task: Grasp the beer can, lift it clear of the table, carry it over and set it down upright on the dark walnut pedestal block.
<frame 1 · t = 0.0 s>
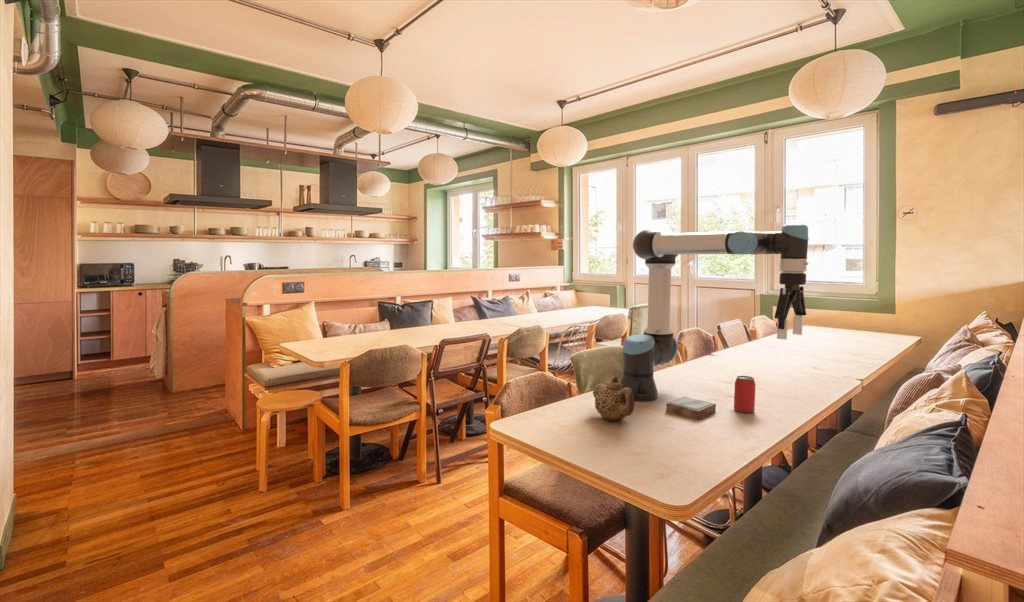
hand: (789, 336, 163), 28 cm above the table, fingers open, 13 cm apart
beer can: (743, 411, 175), on the table
teapot: (613, 420, 165), on the table
pedestal: (690, 411, 174), on the table
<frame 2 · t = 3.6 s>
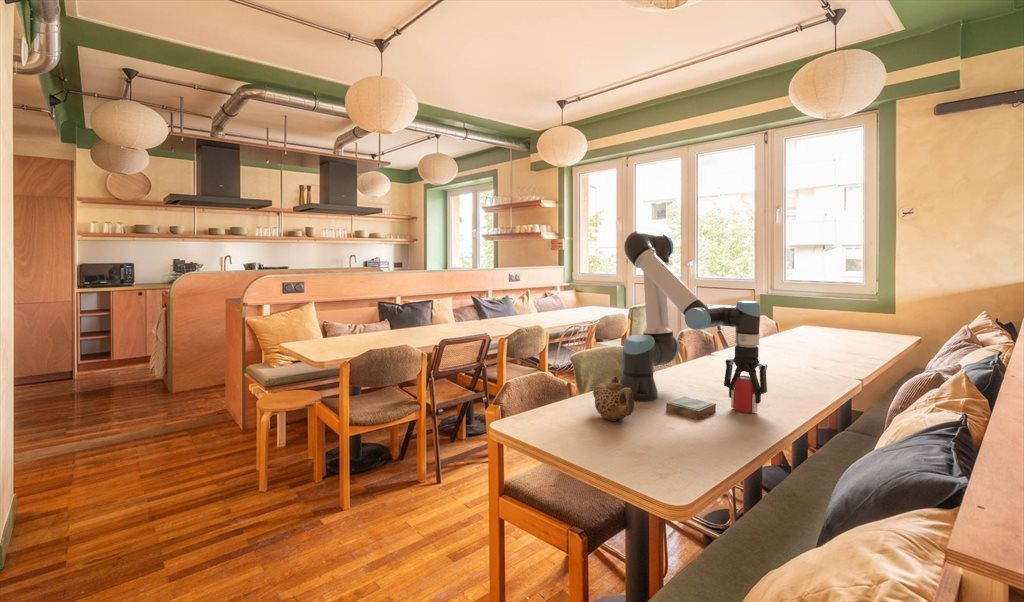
hand: (743, 409, 174), 1 cm above the table, fingers closed on beer can, 7 cm apart
beer can: (743, 411, 175), on the table, touching gripper
everything else where it was.
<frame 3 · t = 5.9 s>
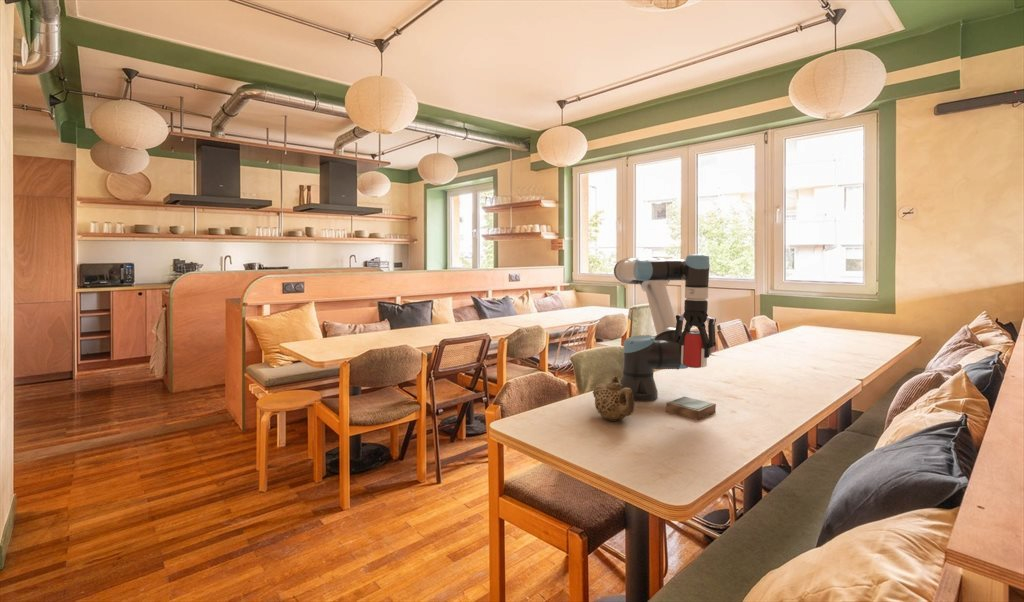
hand: (693, 364, 172), 17 cm above the table, fingers closed on beer can, 7 cm apart
beer can: (693, 366, 172), point 16 cm above the table, touching gripper
everything else where it was.
when the fingers open (5 cm above the table, at t = 8.5 s): beer can drops 1 cm, resting on pedestal.
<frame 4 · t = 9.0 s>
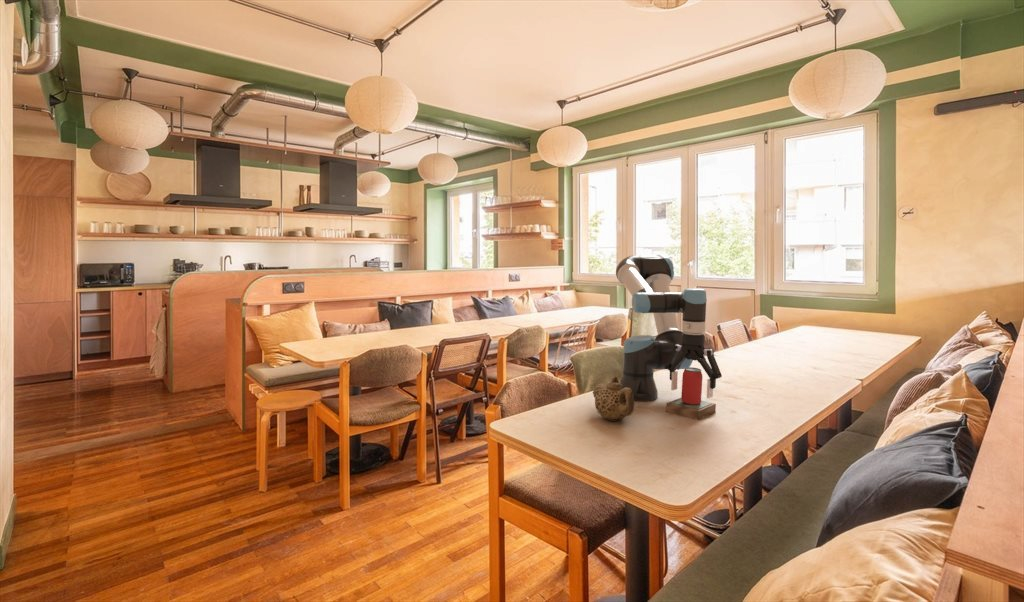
hand: (691, 393, 173), 7 cm above the table, fingers open, 13 cm apart
beer can: (690, 403, 173), point 3 cm above the table, touching pedestal
everything else where it was.
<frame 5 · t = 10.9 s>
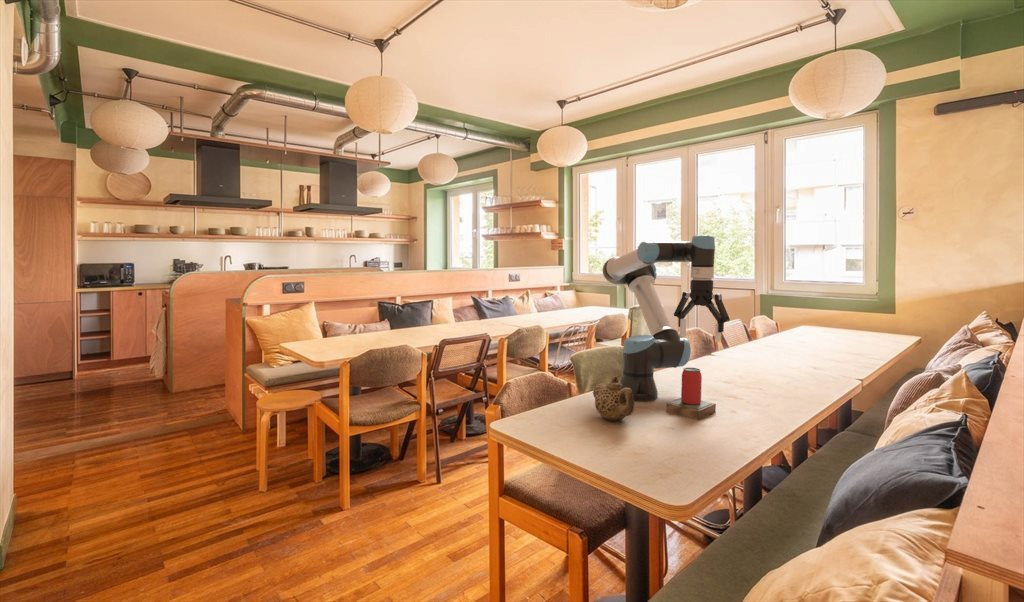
hand: (699, 338, 175), 25 cm above the table, fingers open, 13 cm apart
nothing on the table moved.
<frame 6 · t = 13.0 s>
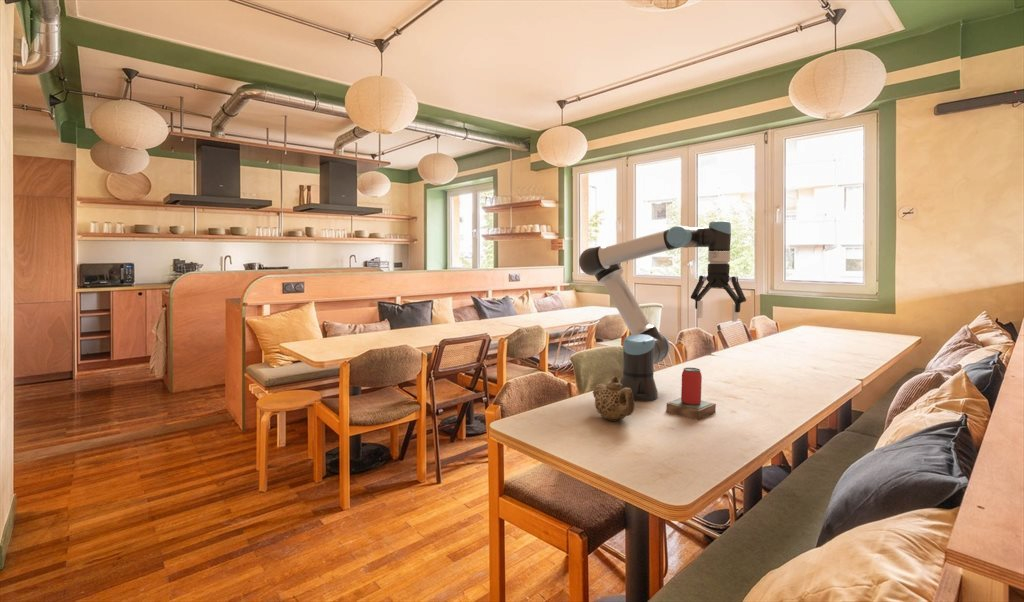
hand: (716, 319, 186), 31 cm above the table, fingers open, 13 cm apart
nothing on the table moved.
at the end: beer can 0.1 cm from the pedestal (horizontally); beer can point 3.0 cm above the table; beer can tilted 0° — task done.
